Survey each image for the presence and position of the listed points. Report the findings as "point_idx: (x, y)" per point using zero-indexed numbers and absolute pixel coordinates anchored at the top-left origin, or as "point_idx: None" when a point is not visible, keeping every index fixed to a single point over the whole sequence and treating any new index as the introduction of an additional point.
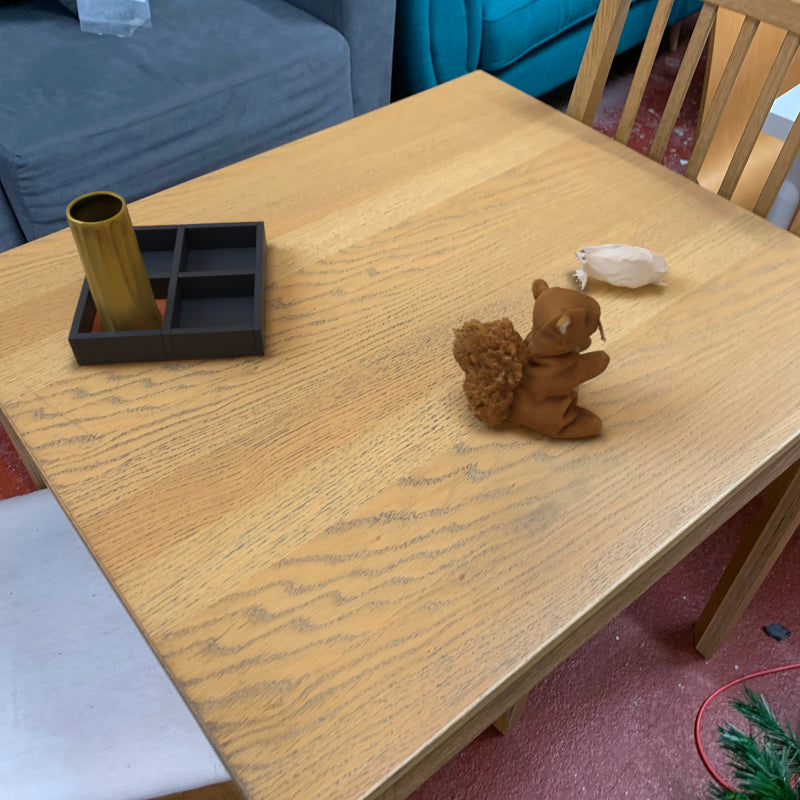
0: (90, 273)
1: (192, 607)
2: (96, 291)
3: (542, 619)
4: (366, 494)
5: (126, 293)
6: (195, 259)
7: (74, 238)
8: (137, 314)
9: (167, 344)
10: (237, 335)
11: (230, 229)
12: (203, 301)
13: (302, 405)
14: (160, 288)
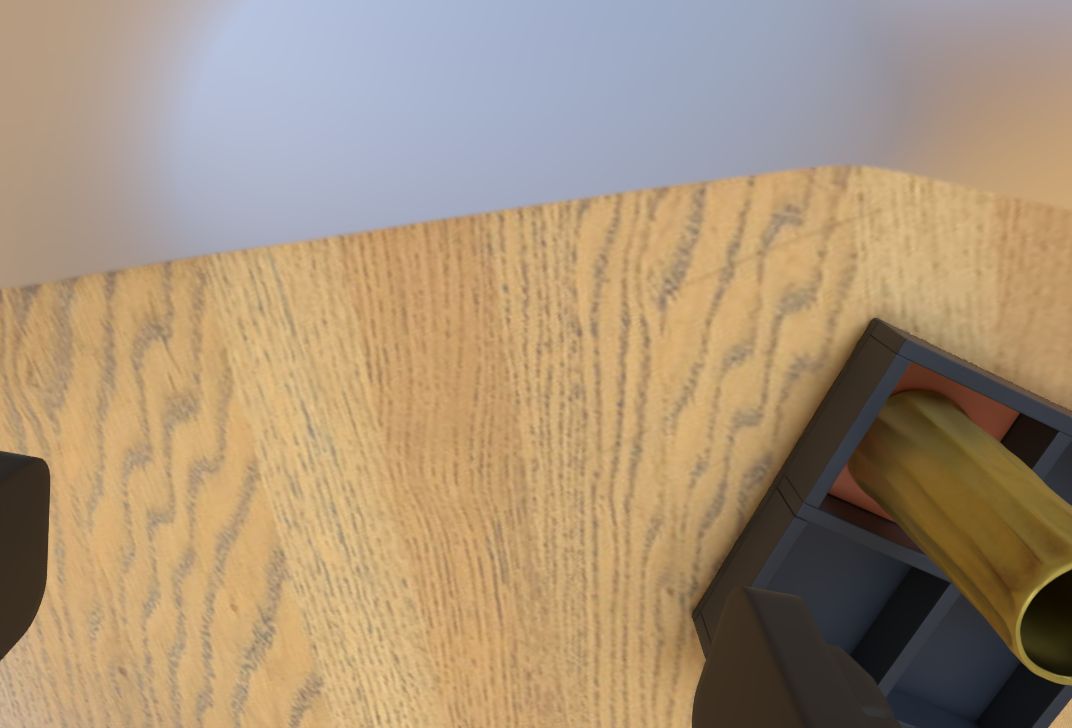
0: (982, 479)
1: (234, 327)
2: (954, 456)
3: (20, 722)
4: (317, 627)
5: (907, 507)
6: None
7: (1065, 515)
8: (879, 486)
9: (791, 494)
10: None
11: (1032, 714)
12: (890, 580)
13: (542, 621)
14: None
